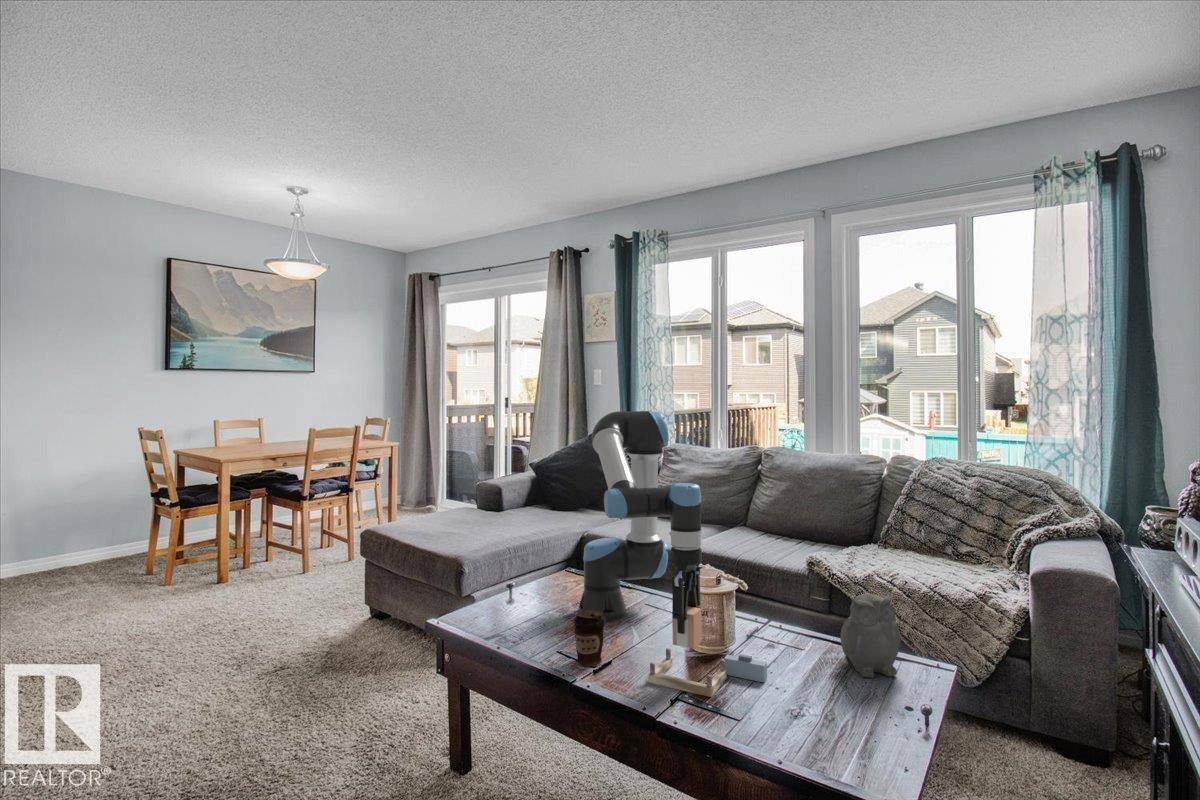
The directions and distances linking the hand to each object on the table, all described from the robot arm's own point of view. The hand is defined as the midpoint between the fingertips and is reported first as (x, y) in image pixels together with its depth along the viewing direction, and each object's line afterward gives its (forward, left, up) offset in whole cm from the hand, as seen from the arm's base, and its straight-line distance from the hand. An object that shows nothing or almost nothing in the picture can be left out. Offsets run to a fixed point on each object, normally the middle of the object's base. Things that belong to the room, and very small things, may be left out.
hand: (687, 641), depth 149 cm
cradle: (0, 0, -10) cm, 10 cm away
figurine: (-29, +38, -10) cm, 49 cm away
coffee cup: (+2, -27, -10) cm, 28 cm away
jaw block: (0, 0, 0) cm, 0 cm away
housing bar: (-9, +12, -10) cm, 18 cm away
